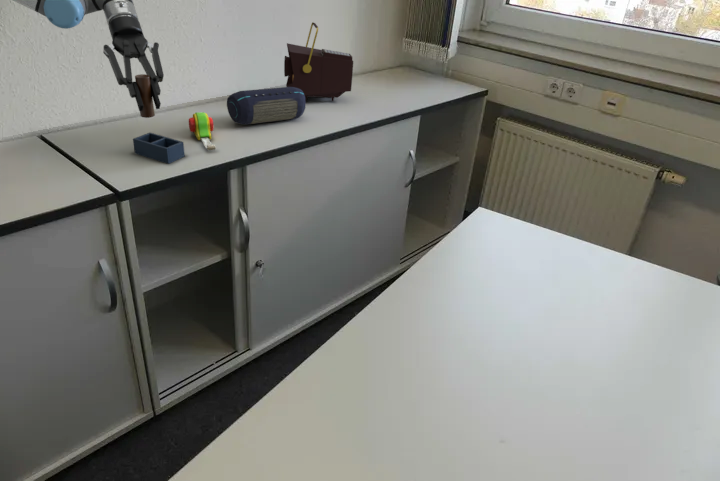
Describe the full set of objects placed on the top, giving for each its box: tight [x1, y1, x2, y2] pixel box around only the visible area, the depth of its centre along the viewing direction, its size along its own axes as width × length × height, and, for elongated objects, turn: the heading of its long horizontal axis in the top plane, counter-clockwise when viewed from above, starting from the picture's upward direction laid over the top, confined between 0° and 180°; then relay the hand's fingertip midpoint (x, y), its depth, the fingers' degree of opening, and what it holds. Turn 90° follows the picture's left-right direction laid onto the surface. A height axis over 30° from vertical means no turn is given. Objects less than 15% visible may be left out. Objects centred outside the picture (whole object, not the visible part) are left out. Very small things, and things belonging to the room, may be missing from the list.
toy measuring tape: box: [188, 111, 217, 151], centre depth 152 cm, size 6×20×7 cm, turn 25°
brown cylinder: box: [134, 73, 156, 119], centre depth 135 cm, size 3×3×10 cm
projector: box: [283, 21, 354, 102], centre depth 189 cm, size 16×23×25 cm
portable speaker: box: [226, 86, 307, 125], centre depth 168 cm, size 25×10×10 cm, turn 126°
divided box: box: [132, 132, 185, 165], centre depth 141 cm, size 6×11×4 cm, turn 64°
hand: (149, 107), depth 134 cm, fingers closed on brown cylinder, 3 cm apart
